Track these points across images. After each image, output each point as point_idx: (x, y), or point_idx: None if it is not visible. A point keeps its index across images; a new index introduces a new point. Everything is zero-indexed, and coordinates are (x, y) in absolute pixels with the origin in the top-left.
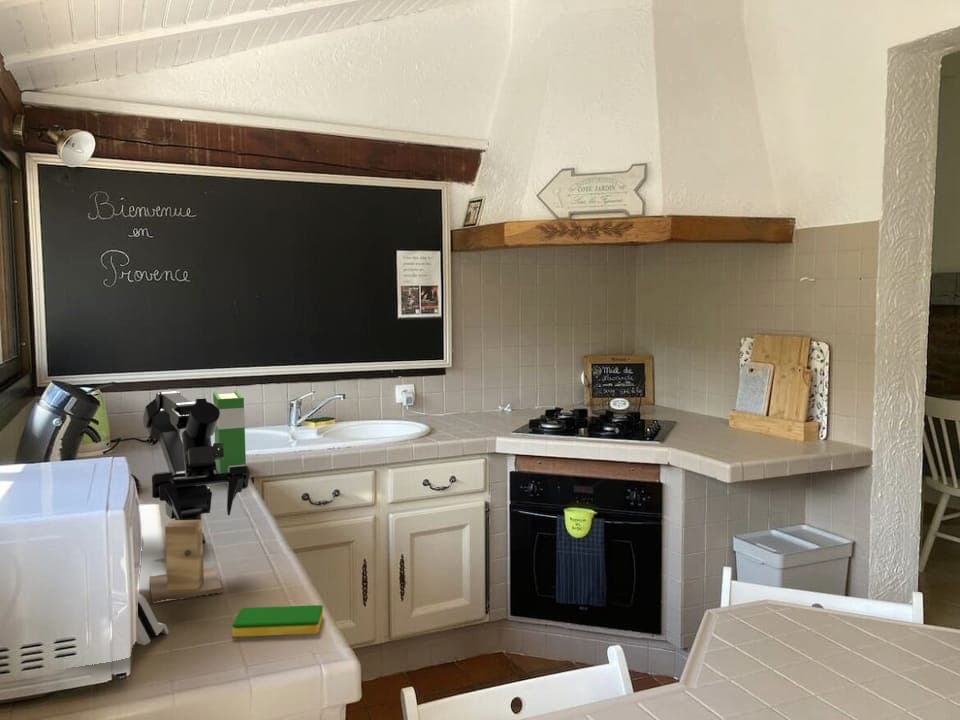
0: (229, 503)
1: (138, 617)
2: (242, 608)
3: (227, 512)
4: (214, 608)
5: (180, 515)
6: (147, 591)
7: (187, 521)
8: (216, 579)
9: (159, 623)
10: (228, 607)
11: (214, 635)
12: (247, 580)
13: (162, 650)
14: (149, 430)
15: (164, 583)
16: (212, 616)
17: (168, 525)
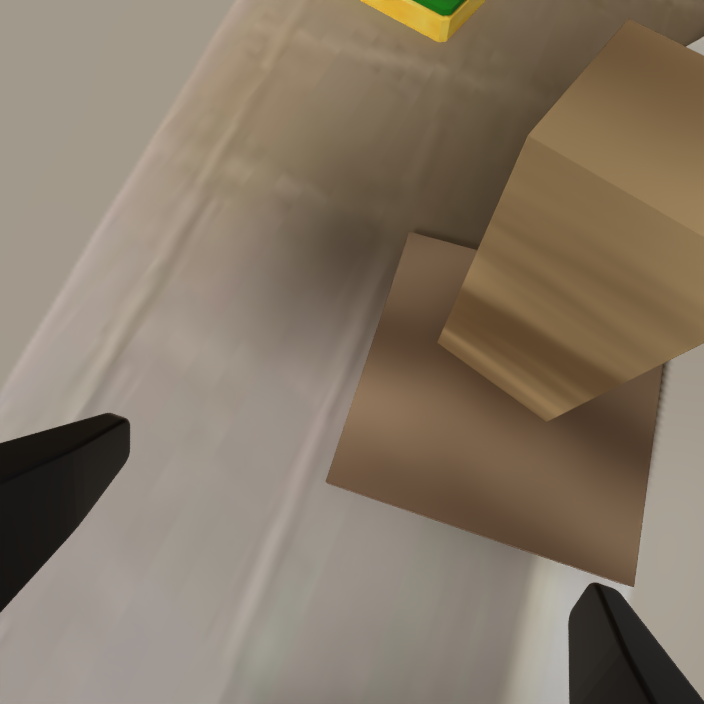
0: (25, 450)
1: None
2: (449, 3)
3: (106, 476)
4: (480, 147)
5: (614, 607)
6: (651, 459)
7: (660, 165)
8: (388, 324)
9: (701, 50)
10: (441, 128)
11: (545, 3)
12: (273, 294)
13: (687, 6)
14: None
15: (591, 432)
16: (507, 101)
17: None
